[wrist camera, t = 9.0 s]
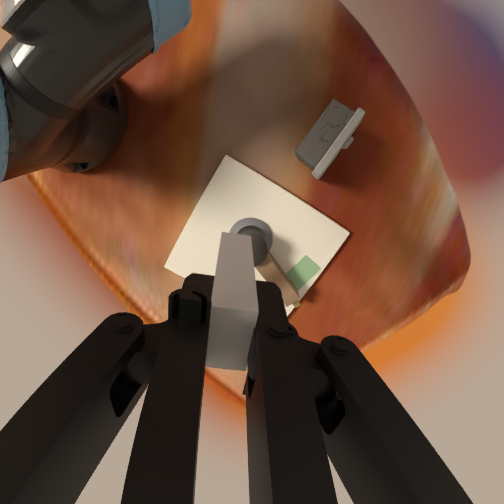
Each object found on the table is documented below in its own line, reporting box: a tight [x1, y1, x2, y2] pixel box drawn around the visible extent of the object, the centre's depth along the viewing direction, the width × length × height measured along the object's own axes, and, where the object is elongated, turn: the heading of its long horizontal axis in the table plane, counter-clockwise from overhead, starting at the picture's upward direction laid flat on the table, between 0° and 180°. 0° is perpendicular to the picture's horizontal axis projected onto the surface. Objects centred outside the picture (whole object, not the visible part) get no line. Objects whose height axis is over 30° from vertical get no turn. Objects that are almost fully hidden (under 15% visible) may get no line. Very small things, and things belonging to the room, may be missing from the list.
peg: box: [237, 225, 301, 308], centre depth 39 cm, size 14×4×4 cm, turn 36°
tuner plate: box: [164, 155, 350, 316], centre depth 40 cm, size 20×18×2 cm
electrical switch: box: [294, 99, 365, 180], centre depth 31 cm, size 9×5×9 cm, turn 146°
